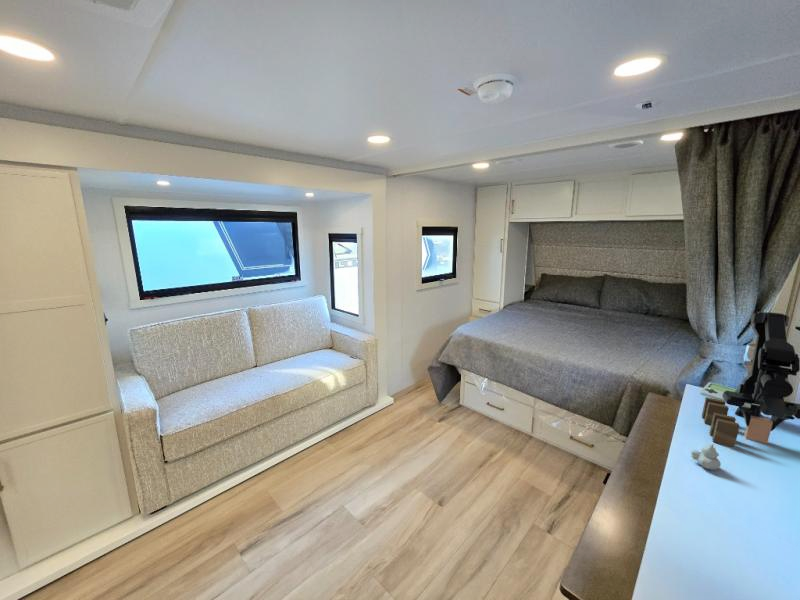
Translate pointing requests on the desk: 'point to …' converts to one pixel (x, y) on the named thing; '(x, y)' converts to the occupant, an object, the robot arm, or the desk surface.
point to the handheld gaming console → (715, 391)
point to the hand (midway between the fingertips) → (758, 427)
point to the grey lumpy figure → (707, 457)
